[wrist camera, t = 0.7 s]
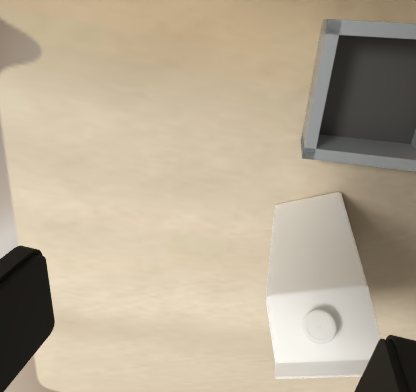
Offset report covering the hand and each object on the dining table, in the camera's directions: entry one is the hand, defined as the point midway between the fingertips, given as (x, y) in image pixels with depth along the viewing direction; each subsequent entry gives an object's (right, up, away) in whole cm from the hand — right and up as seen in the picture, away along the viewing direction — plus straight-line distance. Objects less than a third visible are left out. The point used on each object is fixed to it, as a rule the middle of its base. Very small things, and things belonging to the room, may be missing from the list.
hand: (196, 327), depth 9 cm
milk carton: (+12, 0, +29) cm, 32 cm away
